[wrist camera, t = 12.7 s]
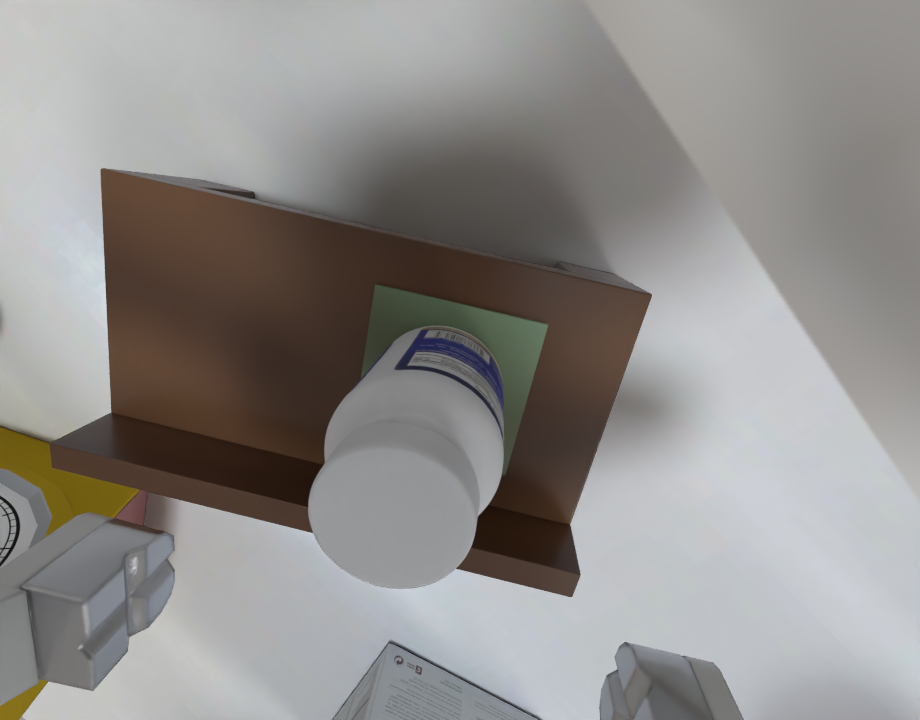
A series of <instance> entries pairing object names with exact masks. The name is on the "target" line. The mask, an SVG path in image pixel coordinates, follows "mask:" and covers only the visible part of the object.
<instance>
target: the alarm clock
mask: <svg viewBox="0 0 920 720" xmlns="http://www.w3.org/2000/svg"><path fill="white" fill-rule="evenodd" d="M146 501H147V491H143V490H139V489H134V488H130V487H126V486H122V485H118V484H114V483H110V482H106V481H102V480H98V479H94V478H90V477H86V476H82V475H78V474H74V473H70V472H66V471H62V470H58V469H54V468H52V466H51V455H50V445H49V443H46V442H43V441H40V440H37V439H35V438H32V437H29V436H26V435H23V434H20V433H17V432H14V431H11V430H8V429H5V428H2V427H0V569H1V568H2V567H3V566H5V565H6V564H8V563H9V562H11V561H12V560H14V559H15V558H16V557H18V556H19V555H21V554H22V553H24V552H25V551H27V550H28V549H29V548H31V547H32V546H34V545H35V544H37V543H38V542H40V541H41V540H42V539H44V538H45V537H47V536H48V535H50V534H51V533H53V532H54V531H55V530H57V529H58V528H60V527H61V526H63V525H64V524H66V523H67V522H68V521H70V520H71V519H73V518H74V517H76V516H77V515H80V514H84V513H87V512H92V513H96V514H99V515H103V516H107V517H111V518H114V519H120V520H124V521H127V522H131V523H135V524H138V525H142V526H144V519H145V510H146ZM47 683H48V681H45V680H40V679H39V683H38V684H36V685H35V686H33V687H31V688H30V689H28V690H26V691H25V692H23V693H21V694H20V695H18V696H16V697H14V698H13V699H11V700H9V701H8V702H6V703H4V704H3V705H1V706H0V720H19V719H20V718H21V716H22V715H23V714H24V712H25V711H26V710H27V709H28V707H29V706H30V705H31V703H32V702H33V701H34V700H35V698H36V697H37V696H38V694H39V693H40V692H41V690H42V689H43V688H44V687H45V685H46V684H47Z"/></svg>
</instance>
